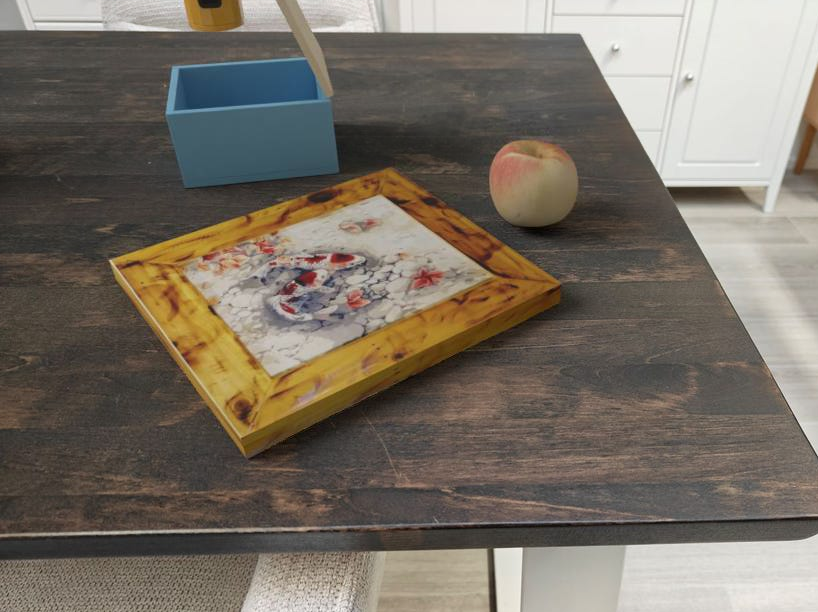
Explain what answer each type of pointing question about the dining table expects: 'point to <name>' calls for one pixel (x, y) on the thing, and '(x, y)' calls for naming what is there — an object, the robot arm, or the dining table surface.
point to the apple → (533, 183)
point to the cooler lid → (306, 42)
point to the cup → (215, 16)
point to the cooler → (250, 122)
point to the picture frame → (326, 301)
